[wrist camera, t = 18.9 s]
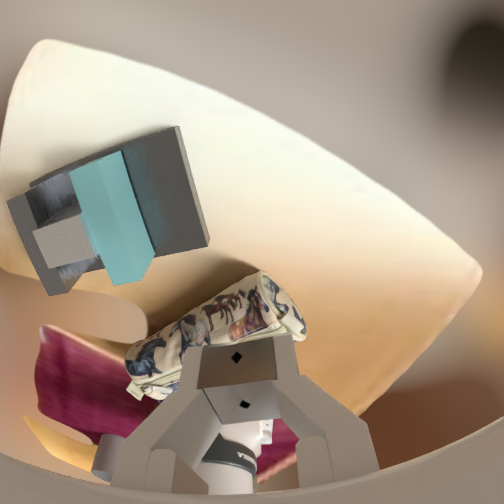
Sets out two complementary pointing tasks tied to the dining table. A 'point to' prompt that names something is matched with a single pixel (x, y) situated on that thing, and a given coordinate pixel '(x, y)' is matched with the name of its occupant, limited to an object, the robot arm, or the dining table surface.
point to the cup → (106, 456)
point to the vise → (146, 194)
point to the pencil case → (212, 332)
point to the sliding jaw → (113, 217)
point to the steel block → (65, 238)
